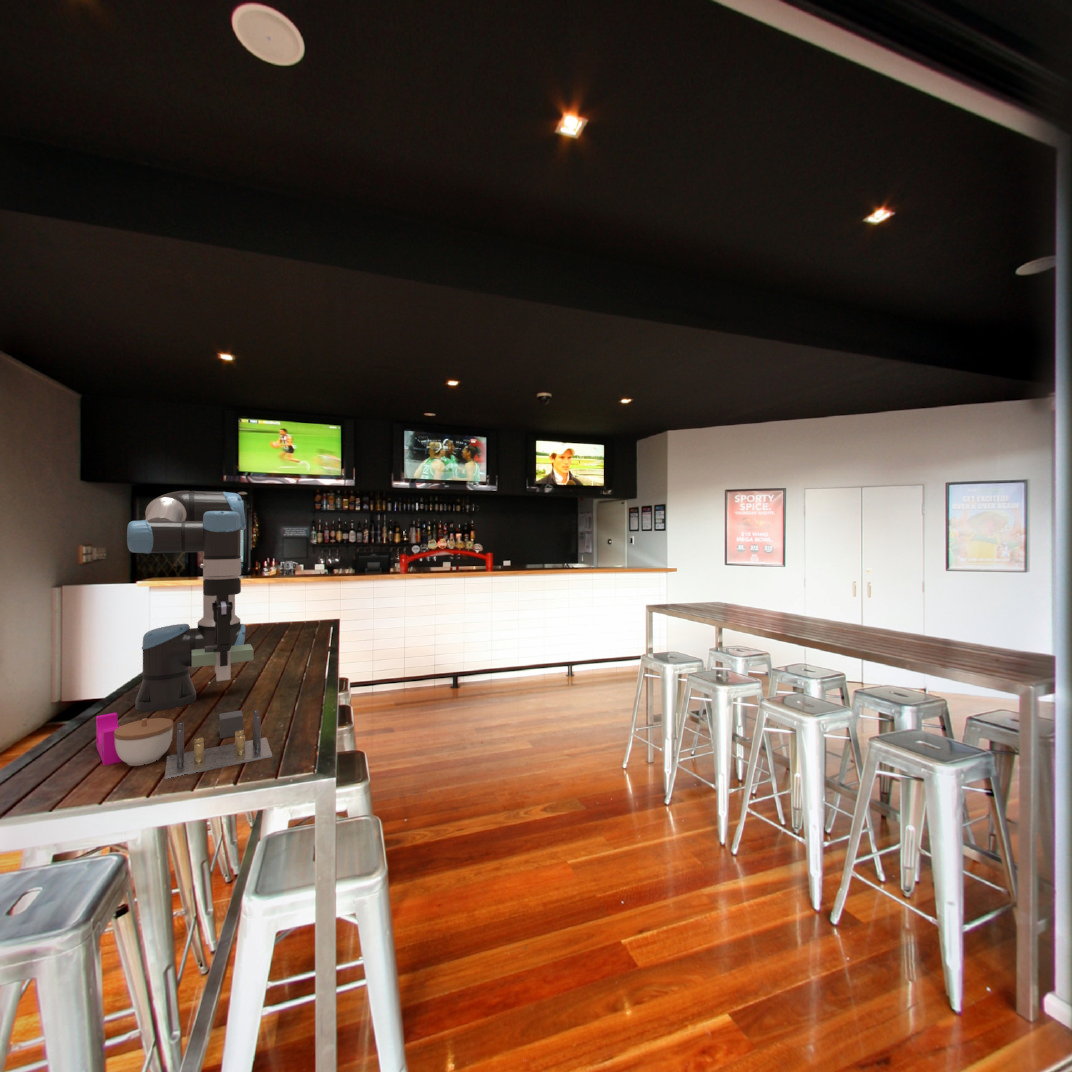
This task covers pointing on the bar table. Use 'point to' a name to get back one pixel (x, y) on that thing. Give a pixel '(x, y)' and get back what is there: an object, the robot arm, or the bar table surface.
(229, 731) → the dark grey cube
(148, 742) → the lidded jar
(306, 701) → the bar table surface
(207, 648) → the board
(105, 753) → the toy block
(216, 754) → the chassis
